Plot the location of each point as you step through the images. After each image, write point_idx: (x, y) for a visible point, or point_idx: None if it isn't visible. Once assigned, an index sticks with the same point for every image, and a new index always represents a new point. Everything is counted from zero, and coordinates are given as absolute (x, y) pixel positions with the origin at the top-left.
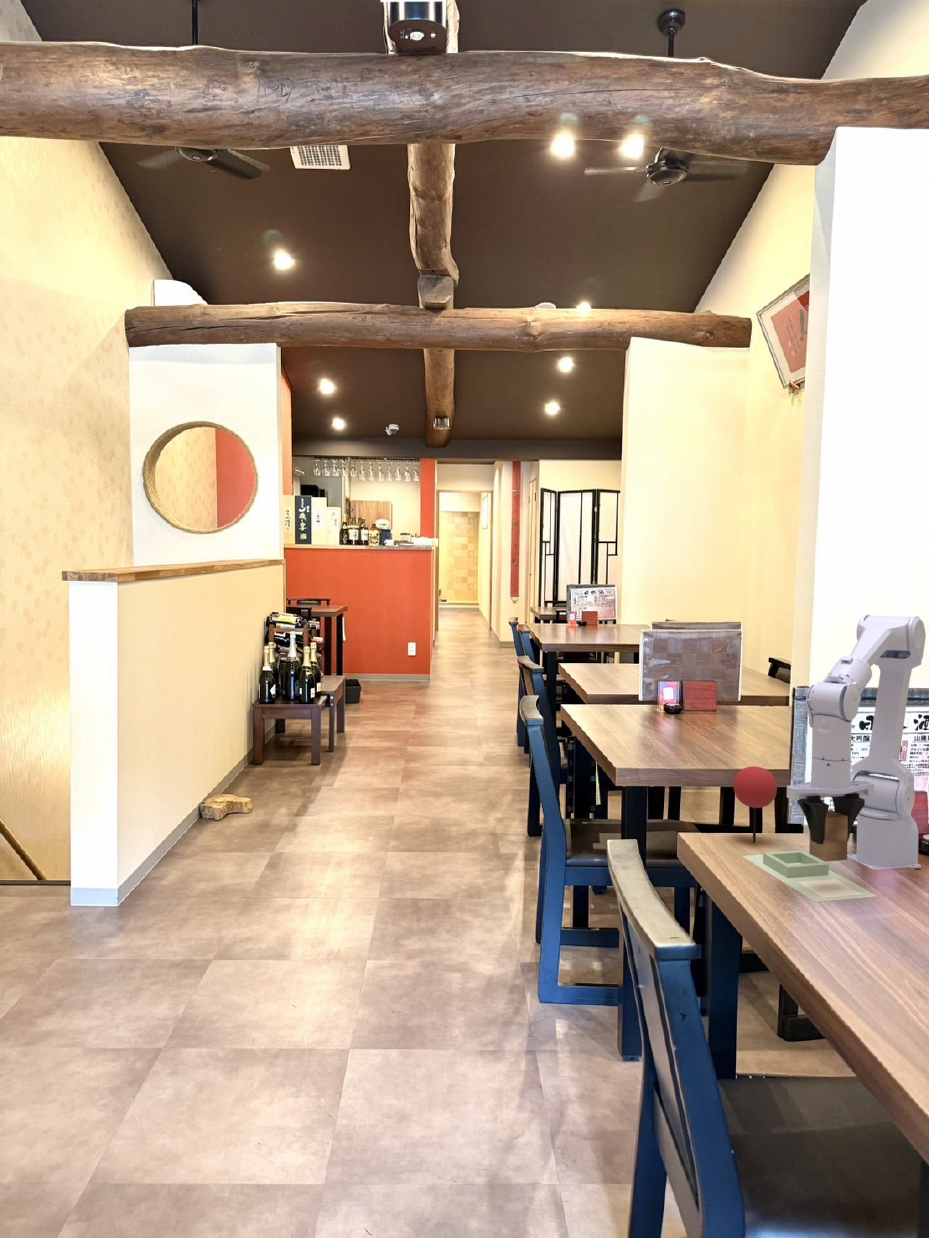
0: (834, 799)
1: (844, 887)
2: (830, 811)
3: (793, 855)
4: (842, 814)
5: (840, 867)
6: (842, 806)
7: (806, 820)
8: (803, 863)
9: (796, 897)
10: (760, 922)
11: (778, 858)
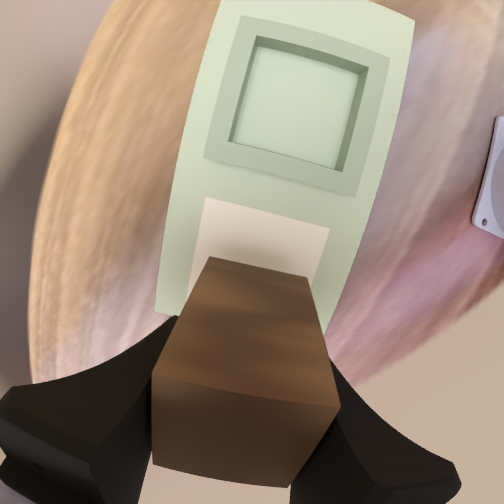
0: (353, 485)
1: None
2: (290, 428)
3: (341, 60)
4: (293, 471)
5: (441, 148)
6: (314, 499)
7: (120, 354)
8: (355, 89)
9: (150, 253)
10: (31, 306)
11: (283, 46)
